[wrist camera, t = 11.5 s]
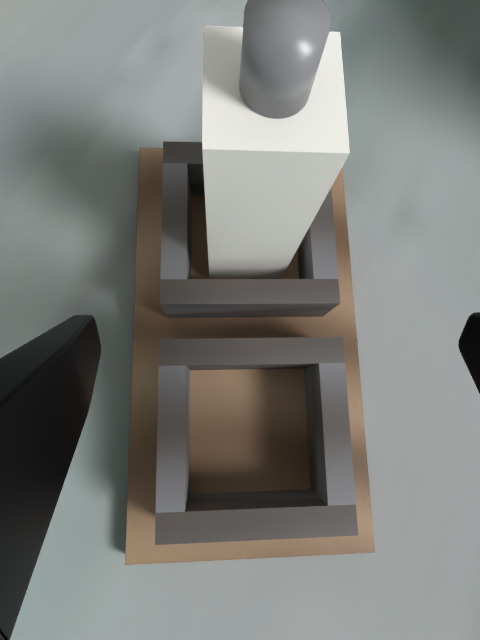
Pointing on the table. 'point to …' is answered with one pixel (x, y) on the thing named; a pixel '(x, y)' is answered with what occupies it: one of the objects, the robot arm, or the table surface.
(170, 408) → the dock
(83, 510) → the table surface
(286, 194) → the plug
